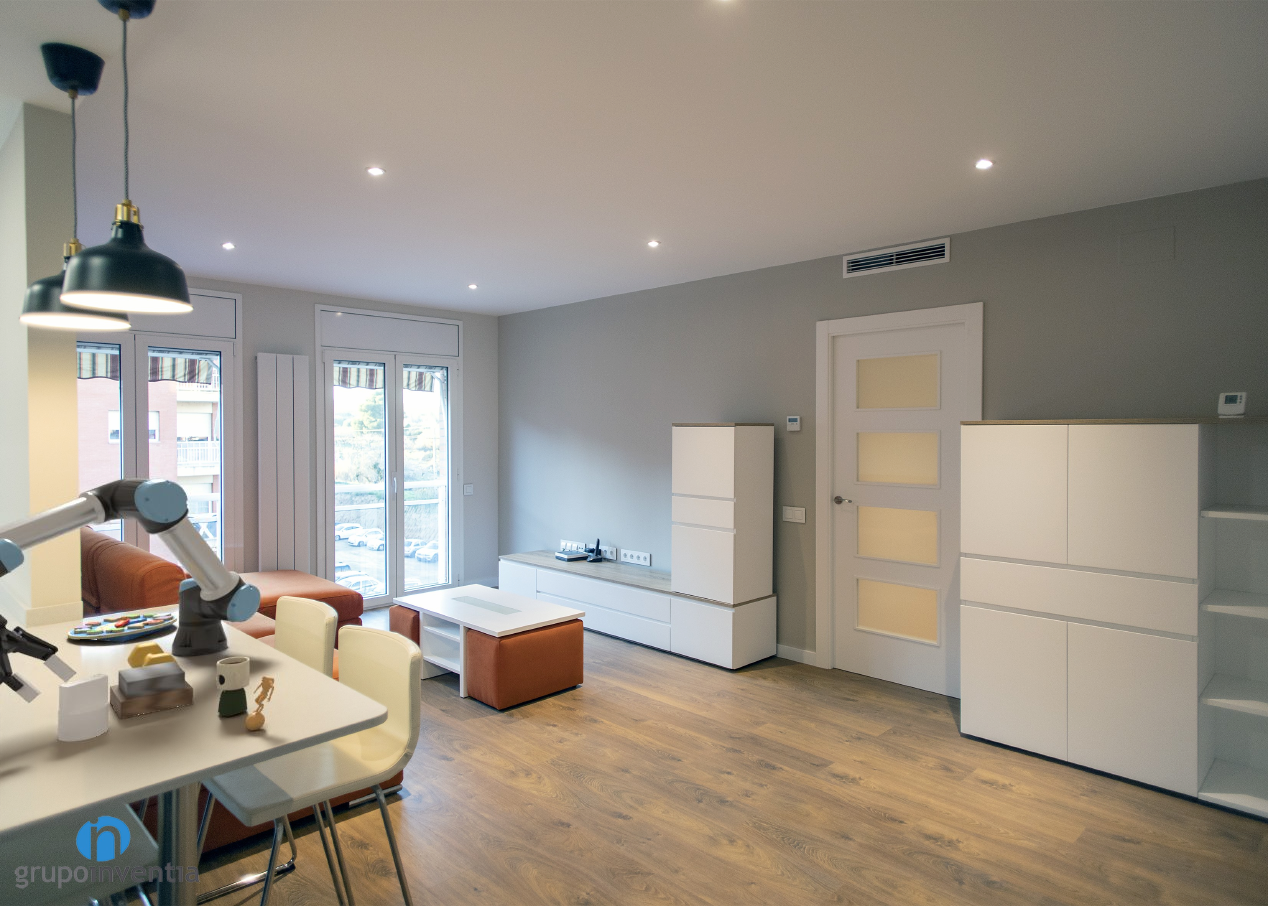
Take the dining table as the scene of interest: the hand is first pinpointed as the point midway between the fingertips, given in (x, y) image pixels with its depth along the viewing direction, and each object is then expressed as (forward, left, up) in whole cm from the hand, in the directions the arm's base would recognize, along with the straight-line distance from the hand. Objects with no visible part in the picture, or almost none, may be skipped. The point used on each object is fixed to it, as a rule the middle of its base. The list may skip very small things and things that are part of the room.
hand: (54, 687), depth 159 cm
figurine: (-35, +25, -11) cm, 45 cm away
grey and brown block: (-20, -10, -11) cm, 25 cm away
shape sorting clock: (-27, -94, -11) cm, 98 cm away
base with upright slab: (-5, +2, -11) cm, 12 cm away
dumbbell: (-25, -33, -11) cm, 42 cm away
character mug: (-33, +11, -11) cm, 37 cm away
